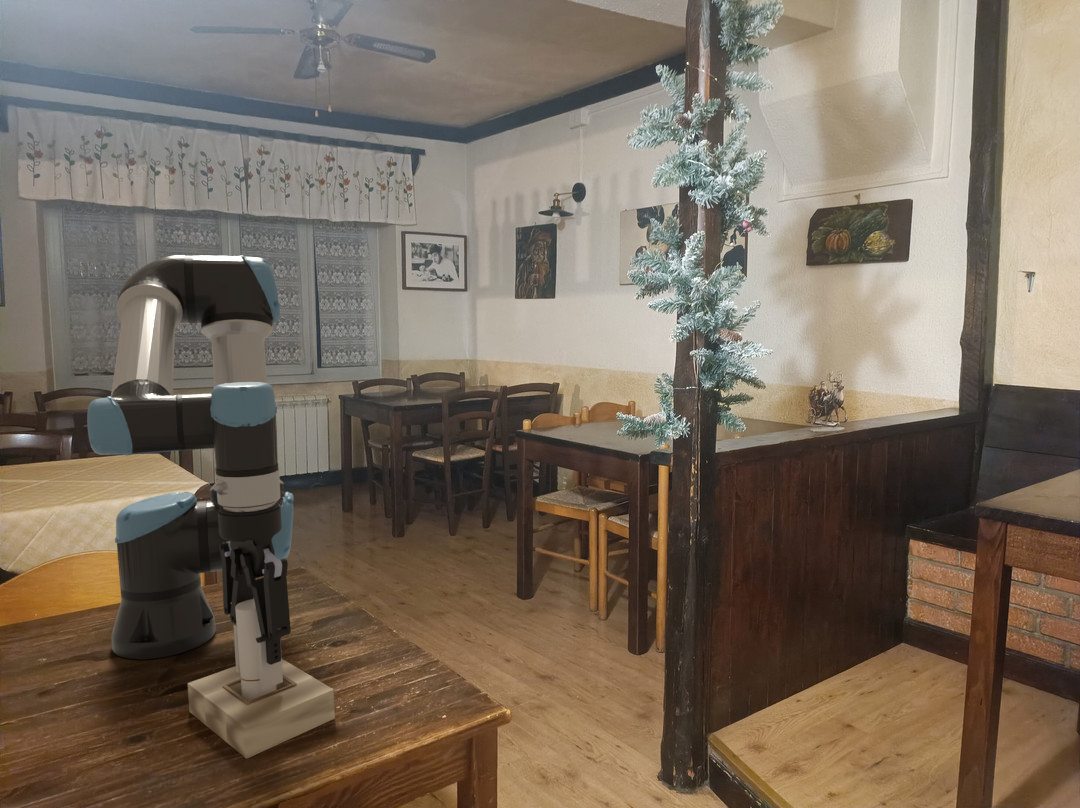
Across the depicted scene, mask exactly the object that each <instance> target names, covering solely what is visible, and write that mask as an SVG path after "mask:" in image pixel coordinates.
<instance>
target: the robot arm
mask: <svg viewBox="0 0 1080 808" xmlns="http://www.w3.org/2000/svg"><path fill="white" fill-rule="evenodd" d="M278 293H279V292H278V288H277V283H276V279H275V276H274V272H273V269H272V266H271V265H270V263H269V261H268V260H266V259H265V258H263V257H257V256H256V257H255V256H254V257H253V256H245V255H237V256H236V255H233V256H232V255H231V256H230V255H184V254H181V255H180V254H174V255H173V254H172V255H169V256H163V257H160V258H157V259H154V260H152V262H148V263H147V264H145V265H144V266H142V267H141V268H139V269H138V270H137V271H135V272H134V273H133V274H132V275H131V276H130V277H129V278H127V280H126V281H125V283H124V284H123V286H122V287H121V289H120V291H119V294H118V297H117V301H116V315H117V319H118V320H119V322H120V323H121V324H120V330H119V337H118V338H119V339H118V345H117V352H116V358H115V366H114V371H113V379H112V386H111V394H110V396H106V397H102V398H100V397H99V398H95V399H93V400H92V401H90V403H89V404H88V407H87V414H86V415H87V418H86V419H87V421H86V423H87V435H88V441H89V444H90V447H91V450H92V451H93V452H94V453H96V454H97V455H100V456H110V455H111V456H112V455H113V456H115V455H116V456H117V455H125V456H132V455H141V454H142V455H143V454H152V453H153V454H154V453H166V452H177V451H194V450H205V449H206V450H210V449H213V451H214V459H215V481H216V482H215V483H214V484H213V485H212V486H211V487H210V489H209V494H210V499H209V500H200V501H199V500H197V499H198V497H196V495H195V494H194V493H193V492H189V491H184V492H177V491H176V492H172V493H171V492H170V493H166V494H165V493H164V494H160V495H159V494H158V495H155V496H152V497H147V498H144V499H141V500H139V501H136V502H133V503H131V504H129V505H127V506H125V507H124V508H122V509H121V510H120V511H119V513H117V515H116V519H115V537H114V538H115V539H114V541H115V542H114V543H116V548H117V549H116V550H117V563H118V575H119V577H118V578H119V585H120V586H119V587H120V589H119V590H120V604H119V606H118V611H117V614H116V617H115V621H114V625H113V628H112V631H111V637H110V638H111V650H112V652H113V653H114V655H117V656H118V657H121V658H124V659H129V660H130V659H131V660H151V659H160V658H167V657H171V656H175V655H179V654H182V653H185V652H188V651H191V650H193V649H197V648H198V647H200V646H202V645H204V644H206V643H208V642H209V640H211V639H212V638H213V637H214V636H215V634H216V630H217V629H216V618H215V615H214V612H213V610H212V608H211V606H210V603H209V601H208V599H207V597H206V594H205V592H204V590H203V588H202V579H201V578H202V577H201V574H204V573H205V574H206V573H213V572H214V573H215V572H222V574H221V575H222V596H223V597H222V599H223V600H222V601H223V613H224V615H226V616H227V615H230V616H229V618H230V622H231V623H232V624H233V638H234V639H233V642H234V654H235V655H234V656H235V666H236V672H237V673H240V663H239V650H238V637H237V624H236V611H235V606H236V605H237V604H238V603H240V602H243V601H246V600H250V599H254V602H255V607H256V612H257V617H258V622H259V627H260V632H261V637H258V638H256V641H257V642H258V656H259V674H260V688H261V689H263V690H264V689H266V688H269V687H272V686H274V685H277V684H279V683H282V682H283V674H282V659H283V657H282V640H281V638H283V637H285V636H288V635H290V634H291V633H292V629H291V627H292V626H291V618H290V606H289V594H288V593H289V592H288V580H287V577H288V576H287V574H288V566H289V565H288V560H287V558H288V557H289V555H290V552H291V546H292V540H293V539H292V537H293V527H294V525H293V524H294V500H295V499H294V494H293V493H292V492H289V491H285V489H284V488H285V487H284V481H282V480H281V479H280V478H281V477H280V467H279V462H278V461H279V459H278V455H279V454H278V432H277V431H278V430H277V429H278V428H277V427H278V426H277V413H278V407H277V404H276V399H275V389H274V387H273V386H272V385H271V384H270V383H268V375H267V374H268V373H267V363H266V362H267V361H266V360H267V359H266V348H265V347H266V346H265V345H266V344H265V340H266V339H267V338H268V337H269V336H270V335H271V334H272V333H273V324H275V323H278V322H280V321H281V308H280V303H279V294H278ZM180 324H200V325H201V326H200V331H201V334H202V335H203V336H205V337H206V338H207V339H208V340H209V341H210V342H211V353H212V371H213V372H212V373H213V388H212V390H211V392H209V393H208V392H207V393H190V394H189V393H188V394H174V374H175V373H174V372H175V371H174V370H175V348H176V347H175V343H176V342H175V341H176V329H177V328H178V327H179V325H180Z"/></svg>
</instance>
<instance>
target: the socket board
mask: <svg viewBox="0 0 1080 808" xmlns="http://www.w3.org/2000/svg"><path fill="white" fill-rule="evenodd" d="M282 674H283V682H282V683H279V684H277V685H276V687H277V690H275V691H273V692H270V693H268V694H265V695H263V696H260V697H258V698H255V699H253V700H250V701H248V700H246V699H245V698H244V697H242V689H241V676H240V673H237V672H236V665H235V666H232V667H229V668H227V669H224V670H221V671H218V672H215V673H213V674H210V675H208V676H204V677H201V678H198V679H195V680H192V681H190V682H187V695H188V696H187V697H188V708H189V709H188V710H189V714H192V715H193V716H194V717H196V719H197V720H198V721H200V722H201V723H202V724H204V726H206V727H207V728H209V729H210V730H211V731H212V732H213V733H215V735H217V736H218V737H220V738H221V740H224V742H225V743H227V744H228V745H229V746H231V747H232V748H233V749H234V750H235V751H236V752H238V754H240V755H241V756H243V757H244V758H245V759H246V760H247V759H249V758H252V757H254V756H255V755H257V754H259V753H262V752H265V751H266V750H268V749H271V748H273V747H276V746H277V745H280V744H282V743H284V742H286V741H289V740H290V739H293V738H296V737H297V736H300V735H301V734H303V733H307V732H308V731H311V730H312V729H315V728H317V727H320V726H322V725H324V724H326V723H328V722H330V721H332V720H335V718H336V716H335V694H334V693H335V692H334V691H335V690H334V688H332V687H330V686H328V685H327V684H325V683H323V682H322V681H320V680H319V679H316V678H315V677H314V676H312V675H310V674H308V673H307V672H305V671H303V670H301V669H300V668H299V667H297V666H295V665H293V664H291V663H290V662H288V661H286V660H285V659H283V658H282Z"/></svg>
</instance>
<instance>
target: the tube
mask: <svg viewBox="0 0 1080 808" xmlns="http://www.w3.org/2000/svg"><path fill="white" fill-rule="evenodd" d="M235 611H236V624H237V637H238V650H239V663H240V676H241V689H242V697H244V698H245V699H246V700H248V701H250V700H253V699H255V698H258V697H260V696H263V695H265V694H268V693H270V692H273V691H275V690H277V687H276V685H274V686H272V687H269V688H266V689H264V690H263V689H261V688H260V674H259V656H258V642H257V641H256V638H258V637H261V632H260V627H259V622H258V617H257V612H256V607H255V602H254V598H253V599H250V600H246V601H243V602H240V603H238V604H237V605H236V606H235Z"/></svg>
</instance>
